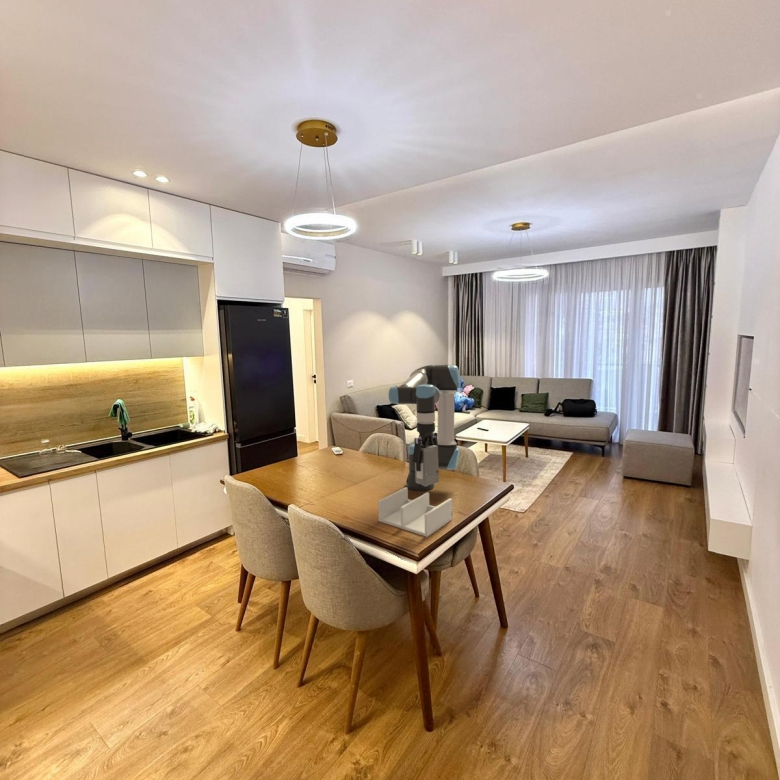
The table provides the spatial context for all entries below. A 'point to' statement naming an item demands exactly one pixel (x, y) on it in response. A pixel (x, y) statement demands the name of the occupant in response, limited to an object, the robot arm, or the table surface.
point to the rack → (414, 512)
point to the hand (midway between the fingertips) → (426, 475)
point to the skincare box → (429, 466)
